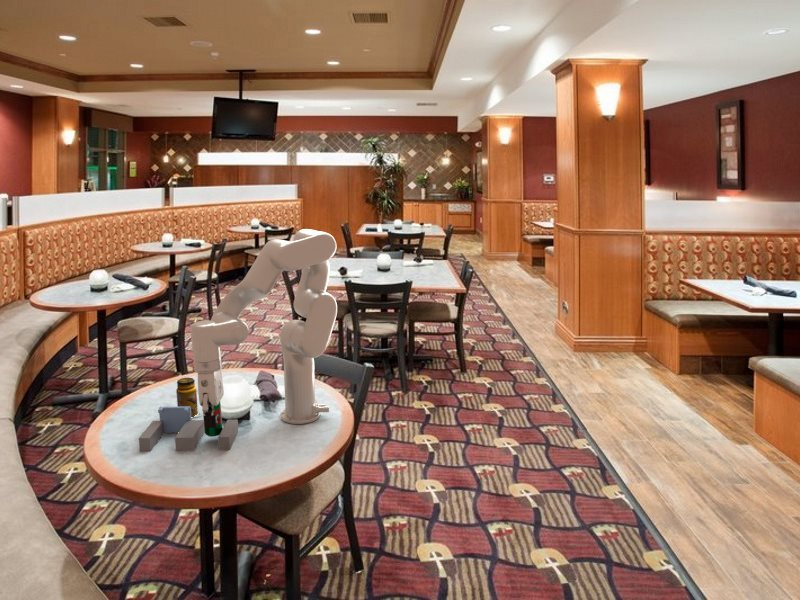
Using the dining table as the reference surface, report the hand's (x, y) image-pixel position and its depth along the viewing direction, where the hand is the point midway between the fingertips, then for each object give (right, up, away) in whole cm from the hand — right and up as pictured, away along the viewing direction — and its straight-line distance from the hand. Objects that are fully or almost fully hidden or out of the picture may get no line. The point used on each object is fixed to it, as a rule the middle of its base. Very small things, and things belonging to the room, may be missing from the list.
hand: (213, 422), depth 180 cm
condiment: (-15, -2, +19) cm, 24 cm away
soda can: (0, -4, +1) cm, 4 cm away
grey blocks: (-7, -5, 0) cm, 9 cm away
